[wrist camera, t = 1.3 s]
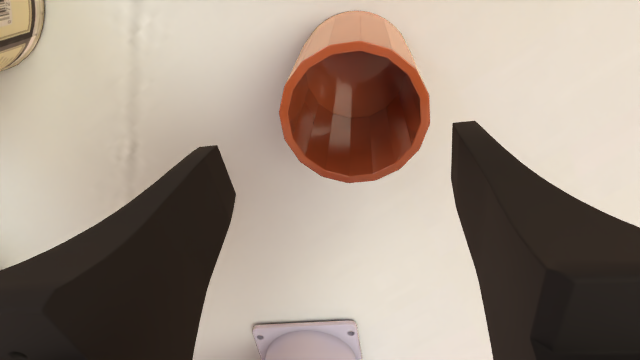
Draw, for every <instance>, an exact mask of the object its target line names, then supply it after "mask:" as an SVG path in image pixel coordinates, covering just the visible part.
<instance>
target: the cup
mask: <svg viewBox="0 0 640 360" xmlns="http://www.w3.org/2000/svg"><path fill="white" fill-rule="evenodd" d="M279 116H280V120H281V125H282V130H283V135H284V139H285V141H286V142H287V144H288V145H289V147H290V148H291V149H292V151H293V152H294V154H295V155H296V157H297V158H298V160H299V161H300V162H301V163H303V164H304V165H306V166H307V167H309V168H310V169H312V170H313V171H315V172H316V173H318V174H319V175H320V176H323V177H326V178H330V179H334V180H338V181H342V182H346V183H354V182H365V181H375V180H377V179H380V178H382V177H384V176H386V175H388V174H390V173H392V172H395V171H397V170H399V169H400V168H402V167H403V166H404V164H405V163H406V162H407V161H408V160H409V159H410V158H411V157H412V156H413V155H414V154H415V153H416V152H417V151H418V150H419V149H420V147H421V144H422V142H423V139H424V137H425V134H426V132H427V130H428V127H429V125H430V104H429V93H428V91H427V89H426V86H425V84H424V82H423V80H422V77H421V75H420V73H419V71H418V68H417V66H416V64H415V61H414V59H413V57H412V55H411V52H410V50H409V48H408V46H407V44H406V42H405V40H404V38H403V36H402V34H401V33H400V32H399V31H398V30H397V28H396V27H395V26H394V25H393V24H391V23H390V22H389V21H387V20H386V19H385V18H383V17H381V16H379V15H376V14H373V13H370V12H365V11H348V12H344V13H340V14H337V15H334V16H332V17H331V18H329V19H327V20H325V21H324V22H323V23H321V24H320V25H319V26H318V27H317V28H316V29H315V30H314V31H313V33H312V34H311V35H310V37H309V39H308V40H307V42H306V43H305V45H304V46H303V48H302V50H301V52H300V55H299V57H298V59H297V61H296V63H295V65H294V67H293V69H292V71H291V73H290V75H289V78H288V80H287V82H286V84H285V86H284V91H283V95H282V100H281V105H280V110H279Z"/></svg>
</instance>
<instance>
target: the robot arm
mask: <svg viewBox="0 0 640 360" xmlns="http://www.w3.org/2000/svg"><path fill="white" fill-rule="evenodd" d="M451 181H452V187H453V193H454V198H455V204H456V208H457V212H458V215H459V218H460V221H461V225H462V228H463V231H464V234H465V237H466V240H467V244H468V247H469V250H470V253H471V256H472V259H473V262H474V266H475V269H476V273H477V276H478V280H479V285H480V290H481V295H482V300H483V305H484V310H485V315H486V320H487V326H488V331H489V337H490V342H491V348H492V353H493V359H494V360H640V228H639V227H637V226H634V225H632V224H629V223H627V222H624V221H622V220H620V219H617V218H615V217H613V216H611V215H608V214H606V213H604V212H602V211H600V210H598V209H596V208H594V207H592V206H590V205H588V204H586V203H584V202H582V201H580V200H578V199H576V198H574V197H572V196H571V195H569V194H567V193H566V192H564V191H562V190H561V189H559V188H557V187H556V186H554V185H552V184H551V183H549V182H548V181H546V180H545V179H543V178H542V177H540V176H539V175H537V174H536V173H535V172H533V171H532V170H530V169H529V168H528V167H526V166H525V165H524V164H522V163H521V162H520V161H519V160H517V159H516V158H515V157H514V156H513V155H512V154H510V153H509V152H508V151H507V150H506V149H505V148H503V147H502V146H501V145H500V144H499V143H498V142H497V141H496V140H495V139H494V138H493V137H492V136H490V135H489V134H488V133H487V132H486V131H485V130H484V129H483V128H482V127H481V126H480V125H479V124H478V123H477V122H476V121H468V122H458V123H453V129H452V166H451ZM235 197H236V193H235V191H234V188H233V185H232V183H231V180H230V178H229V175H228V172H227V170H226V167H225V164H224V162H223V159H222V157H221V154H220V151H219V149H218V146H217V145H216V146H205V147H199V148H197V149H196V150H194V151H193V152H192V153H190V154H189V155H188V156H186V157H185V158H184V159H183V160H182V161H180V162H179V163H178V164H177V165H176V166H174V167H173V168H172V169H171V170H170V171H168V172H167V173H166V174H165V175H164V176H162V177H161V178H160V179H159V180H158V181H156V182H155V183H154V184H153V185H151V186H150V187H149V188H148V189H146V190H145V191H144V192H142V193H141V194H140V195H138V196H137V197H136V198H135V199H133V200H132V201H131V202H129V203H128V204H127V205H125V206H124V207H122V208H121V209H119V210H118V211H117V212H115V213H114V214H112V215H110V216H109V217H107V218H106V219H104V220H103V221H101V222H99V223H98V224H96V225H95V226H93V227H91V228H89V229H87V230H86V231H84V232H82V233H80V234H78V235H77V236H75V237H73V238H71V239H69V240H68V241H66V242H64V243H62V244H60V245H58V246H56V247H54V248H52V249H50V250H48V251H46V252H44V253H41V254H39V255H37V256H35V257H33V258H30V259H28V260H26V261H24V262H21V263H19V264H16V265H14V266H11V267H9V268H6V269H4V270H1V271H0V360H192V359H193V353H194V347H195V342H196V337H197V332H198V327H199V322H200V317H201V313H202V309H203V304H204V300H205V296H206V292H207V288H208V285H209V282H210V278H211V276H212V273H213V270H214V267H215V264H216V262H217V259H218V256H219V253H220V251H221V248H222V245H223V242H224V239H225V237H226V234H227V231H228V228H229V225H230V222H231V218H232V213H233V208H234V202H235ZM350 331H352V332H350ZM261 335H262V336H261ZM253 336H254V338H255V341H256V344H257V347H258V350H259V353H260V356H261V359H262V360H362V354H361V348H360V342H359V335H358V329H357V324H356V323H355V322H354V321H350V320H348V321H327V322H306V323H284V324H263V325H255V326H254V328H253Z"/></svg>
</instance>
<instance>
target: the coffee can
mask: <svg viewBox="0 0 640 360" xmlns="http://www.w3.org/2000/svg"><path fill="white" fill-rule="evenodd" d="M44 11H45V10H44V1H43V0H0V71H3V70H6V69H8V68H10V67H13V66H15V65H17V64H19V63H20V62H21V61H22V60H23V59H24V58H26V57H27V56H28V55H29V53H30V52H31V51H32V50H33V48H34V47H35V45H36V43H37V41H38V39H39V36H40V34H41V30H42V26H43V19H44Z"/></svg>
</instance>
